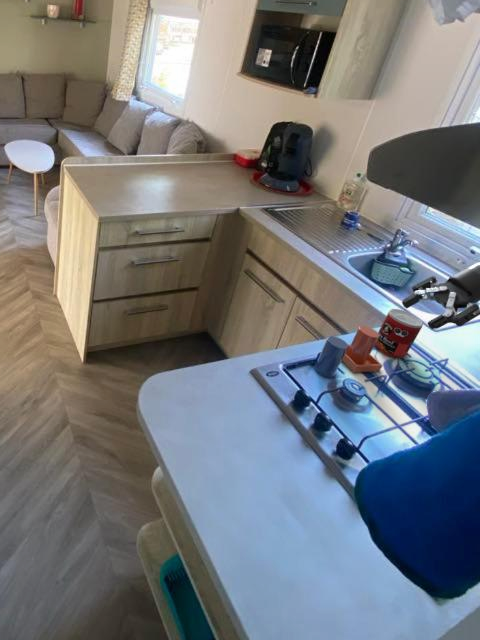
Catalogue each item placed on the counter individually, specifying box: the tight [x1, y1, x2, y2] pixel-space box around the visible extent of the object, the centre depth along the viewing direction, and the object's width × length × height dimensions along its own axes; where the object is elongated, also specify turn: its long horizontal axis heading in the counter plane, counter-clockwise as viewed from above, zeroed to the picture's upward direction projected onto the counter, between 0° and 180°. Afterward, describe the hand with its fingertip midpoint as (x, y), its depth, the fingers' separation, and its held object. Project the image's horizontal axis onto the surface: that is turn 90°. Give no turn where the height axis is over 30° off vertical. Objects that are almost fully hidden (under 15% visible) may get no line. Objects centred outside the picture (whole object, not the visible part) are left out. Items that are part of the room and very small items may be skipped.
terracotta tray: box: [341, 344, 383, 373], centre depth 111 cm, size 8×8×2 cm
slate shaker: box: [314, 335, 349, 378], centre depth 104 cm, size 5×5×9 cm
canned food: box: [374, 308, 424, 359], centre depth 116 cm, size 8×8×11 cm
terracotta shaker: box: [346, 325, 379, 365], centre depth 109 cm, size 5×5×9 cm
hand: (416, 315), depth 105 cm, fingers open, 8 cm apart
